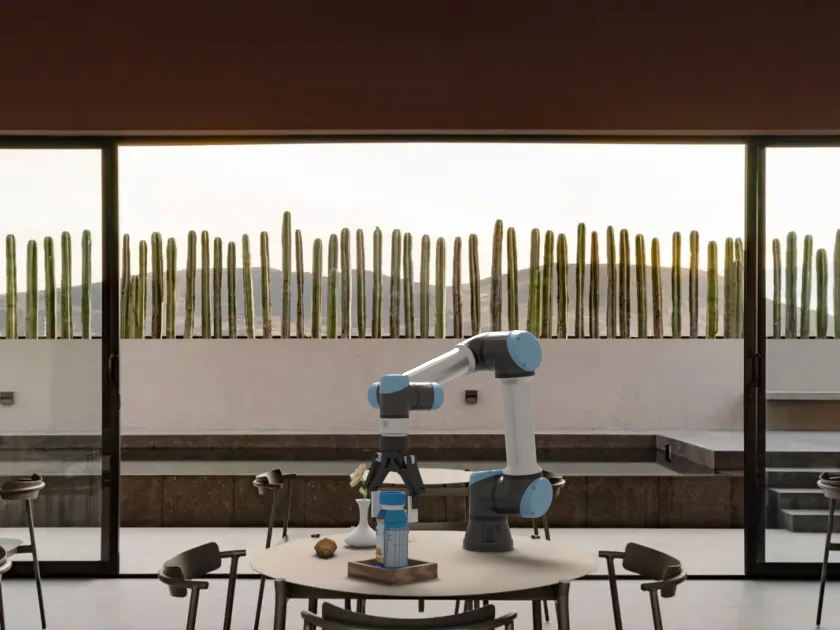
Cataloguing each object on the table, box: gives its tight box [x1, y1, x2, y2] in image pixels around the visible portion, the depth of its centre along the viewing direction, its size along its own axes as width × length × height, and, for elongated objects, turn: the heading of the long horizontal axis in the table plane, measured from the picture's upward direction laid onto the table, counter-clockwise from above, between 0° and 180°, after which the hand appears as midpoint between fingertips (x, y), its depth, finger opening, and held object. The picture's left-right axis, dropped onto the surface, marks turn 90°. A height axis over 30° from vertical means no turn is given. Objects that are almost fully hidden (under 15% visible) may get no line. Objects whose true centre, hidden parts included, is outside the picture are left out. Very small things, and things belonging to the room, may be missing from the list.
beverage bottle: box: [375, 490, 410, 569], centre depth 244 cm, size 8×8×20 cm
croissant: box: [313, 537, 339, 559], centre depth 275 cm, size 14×7×5 cm, turn 8°
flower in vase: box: [344, 463, 376, 548], centre depth 290 cm, size 13×11×25 cm
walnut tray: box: [347, 557, 439, 587], centre depth 244 cm, size 16×16×4 cm
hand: (394, 519), depth 245 cm, fingers open, 13 cm apart
